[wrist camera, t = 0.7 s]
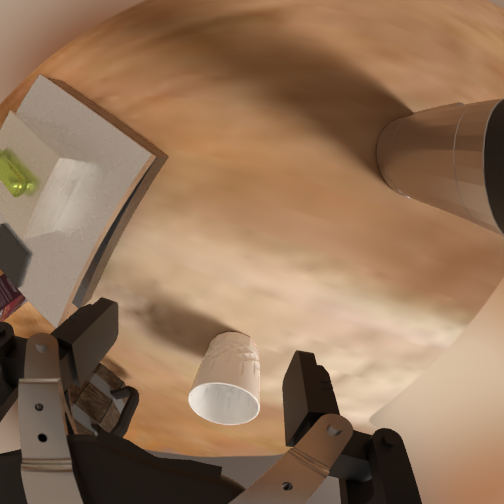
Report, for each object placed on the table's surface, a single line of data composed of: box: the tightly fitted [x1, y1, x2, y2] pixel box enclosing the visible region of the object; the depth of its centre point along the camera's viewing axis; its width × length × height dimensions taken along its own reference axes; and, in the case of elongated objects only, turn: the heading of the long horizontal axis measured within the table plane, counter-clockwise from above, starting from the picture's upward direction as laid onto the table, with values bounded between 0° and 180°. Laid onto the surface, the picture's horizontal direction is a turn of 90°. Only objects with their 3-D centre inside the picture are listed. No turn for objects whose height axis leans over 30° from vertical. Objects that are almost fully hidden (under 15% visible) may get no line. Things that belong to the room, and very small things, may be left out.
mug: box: [68, 363, 139, 438], centre depth 34 cm, size 20×14×15 cm
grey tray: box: [48, 78, 169, 308], centre depth 27 cm, size 22×20×5 cm
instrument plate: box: [0, 74, 156, 328], centre depth 18 cm, size 22×20×8 cm
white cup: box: [188, 332, 260, 425], centre depth 31 cm, size 8×8×10 cm
